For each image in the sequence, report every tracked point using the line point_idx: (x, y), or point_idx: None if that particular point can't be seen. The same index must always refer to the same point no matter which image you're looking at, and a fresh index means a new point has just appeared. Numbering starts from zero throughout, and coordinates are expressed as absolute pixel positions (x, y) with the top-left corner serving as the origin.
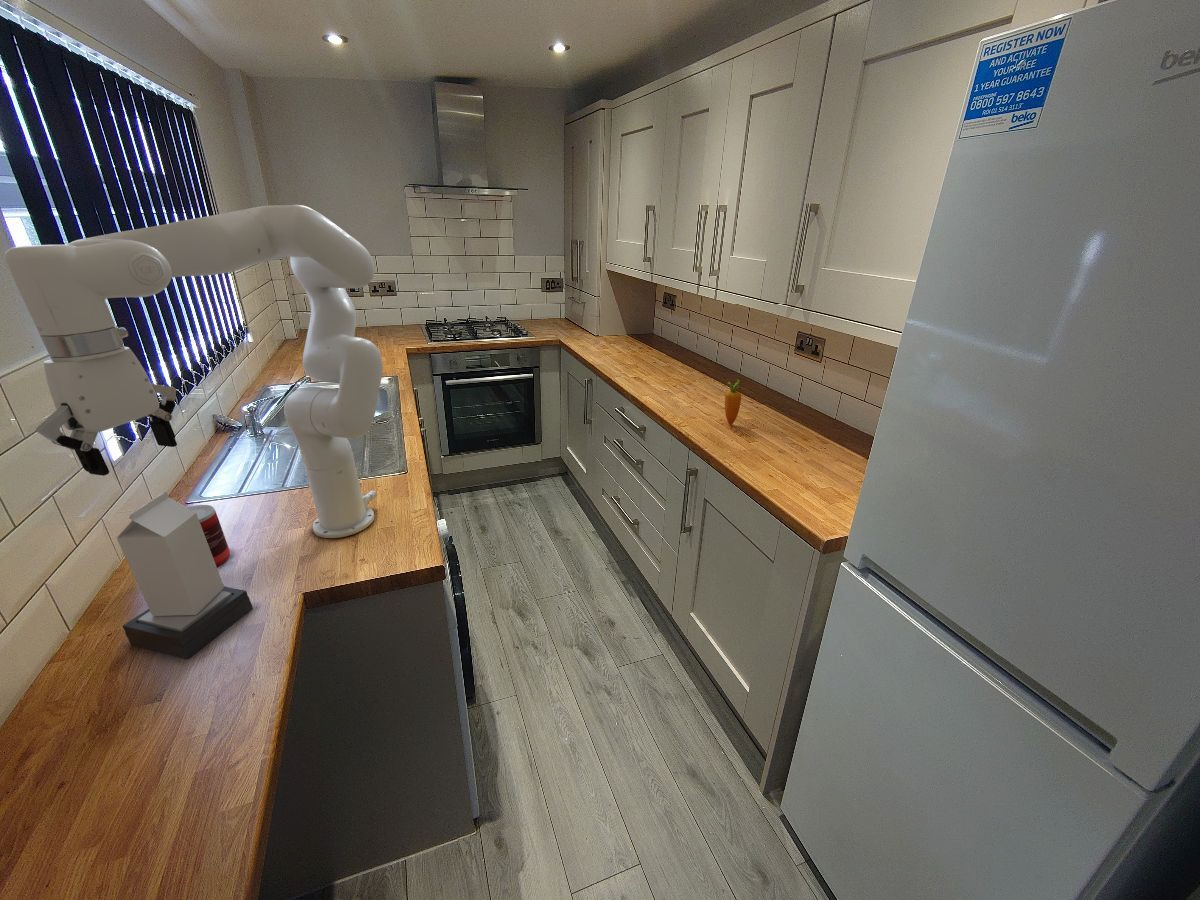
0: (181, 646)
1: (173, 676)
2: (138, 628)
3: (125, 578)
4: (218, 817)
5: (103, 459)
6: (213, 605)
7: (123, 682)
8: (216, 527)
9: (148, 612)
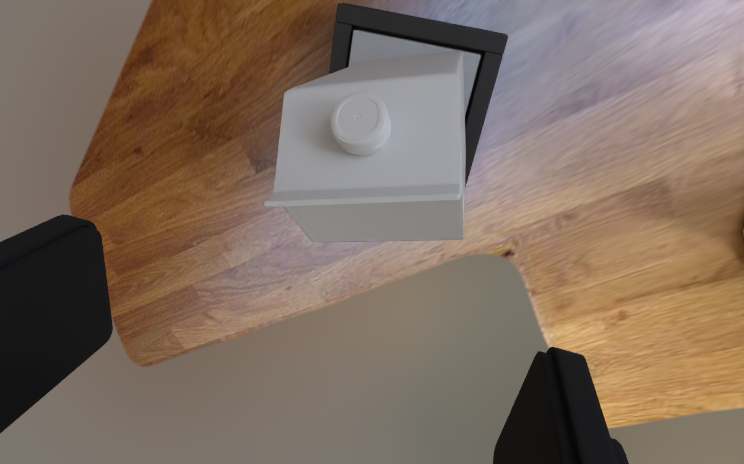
0: None
1: None
2: (334, 53)
3: None
4: (165, 329)
5: (33, 402)
6: None
7: (273, 80)
8: None
9: (375, 36)
